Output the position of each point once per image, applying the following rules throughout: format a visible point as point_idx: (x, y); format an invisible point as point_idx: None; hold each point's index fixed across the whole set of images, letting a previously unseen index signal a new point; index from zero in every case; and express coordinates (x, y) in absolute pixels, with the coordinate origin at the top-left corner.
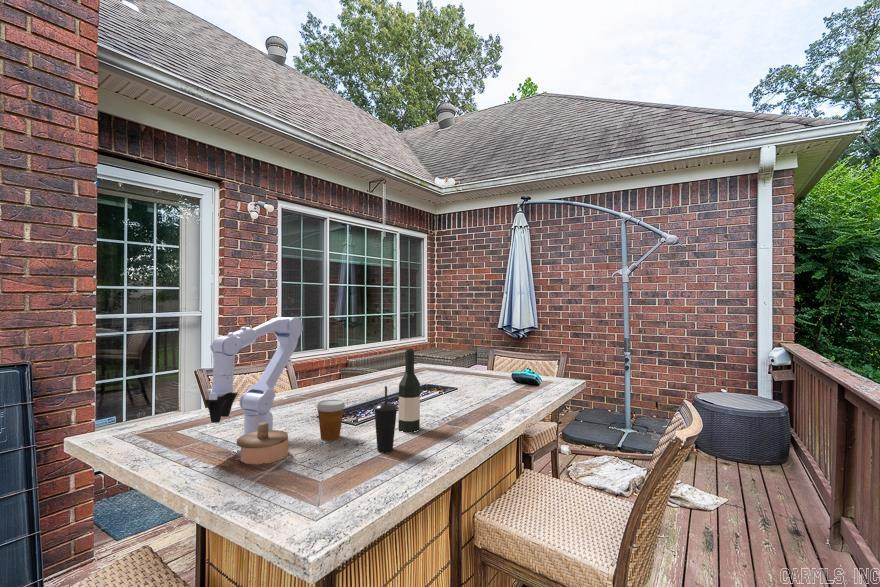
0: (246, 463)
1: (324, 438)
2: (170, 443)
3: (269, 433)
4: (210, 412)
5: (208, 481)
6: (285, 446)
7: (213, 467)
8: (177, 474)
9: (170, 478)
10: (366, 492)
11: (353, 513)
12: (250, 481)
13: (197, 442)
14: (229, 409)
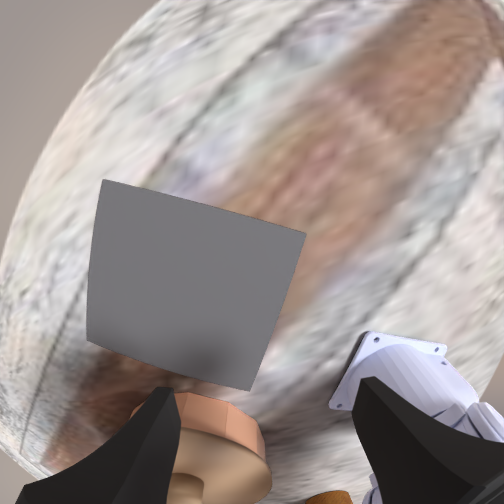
0: (132, 412)
1: (310, 501)
2: (396, 52)
3: (229, 489)
4: (114, 442)
5: (36, 343)
6: None
7: (92, 339)
8: (53, 242)
9: (33, 236)
10: None
11: (43, 478)
12: (60, 416)
13: (405, 154)
14: (367, 453)
